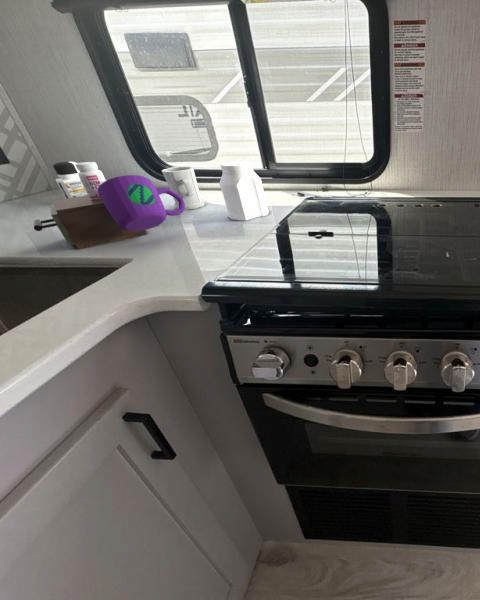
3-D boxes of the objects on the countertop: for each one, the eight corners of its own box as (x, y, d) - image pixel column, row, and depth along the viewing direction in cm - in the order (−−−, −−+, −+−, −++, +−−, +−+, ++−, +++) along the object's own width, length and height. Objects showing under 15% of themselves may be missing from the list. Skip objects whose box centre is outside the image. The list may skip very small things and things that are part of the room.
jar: (237, 222, 96) (222, 168, 88) (224, 215, 102) (208, 164, 94) (273, 213, 103) (262, 162, 95) (259, 207, 109) (247, 159, 101)
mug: (124, 215, 74) (101, 174, 73) (112, 236, 81) (91, 199, 80) (200, 208, 88) (182, 173, 87) (185, 227, 95) (168, 195, 94)
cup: (215, 203, 114) (203, 166, 108) (197, 211, 107) (183, 172, 100) (188, 202, 116) (175, 166, 109) (168, 210, 108) (153, 171, 102)
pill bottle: (98, 200, 83) (80, 165, 78) (85, 199, 84) (67, 164, 80) (117, 196, 87) (101, 161, 82) (105, 194, 88) (88, 161, 83)
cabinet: (77, 249, 81) (55, 210, 76) (74, 236, 89) (53, 200, 84) (147, 233, 90) (131, 198, 85) (138, 223, 97) (123, 189, 92)
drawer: (46, 251, 78) (26, 219, 74) (45, 238, 85) (26, 208, 81) (135, 232, 88) (121, 203, 84) (127, 222, 95) (114, 195, 91)
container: (74, 204, 116) (53, 165, 109) (66, 201, 120) (45, 163, 113) (100, 199, 121) (82, 161, 114) (92, 196, 125) (73, 159, 118)
